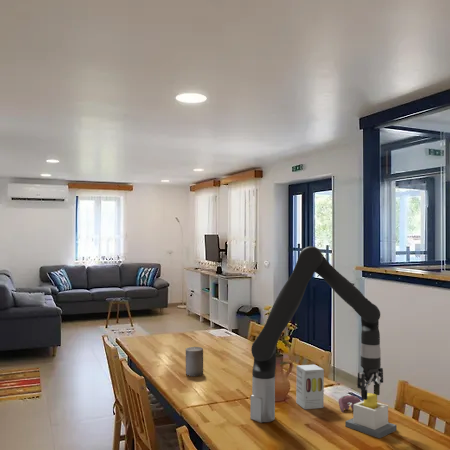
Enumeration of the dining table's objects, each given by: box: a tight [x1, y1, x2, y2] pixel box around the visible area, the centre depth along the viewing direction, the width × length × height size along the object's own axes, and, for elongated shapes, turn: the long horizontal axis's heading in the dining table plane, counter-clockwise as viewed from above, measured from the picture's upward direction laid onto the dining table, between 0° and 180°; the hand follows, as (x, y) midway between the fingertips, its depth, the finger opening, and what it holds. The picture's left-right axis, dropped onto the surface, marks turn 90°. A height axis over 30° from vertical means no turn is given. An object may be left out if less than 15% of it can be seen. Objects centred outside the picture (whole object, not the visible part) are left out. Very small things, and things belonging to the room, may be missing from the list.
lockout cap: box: [363, 392, 378, 409], centre depth 187 cm, size 5×5×6 cm
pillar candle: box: [185, 346, 204, 377], centre depth 261 cm, size 10×10×15 cm
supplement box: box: [295, 364, 325, 410], centre depth 213 cm, size 10×9×17 cm
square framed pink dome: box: [344, 400, 398, 439], centre depth 187 cm, size 12×15×9 cm
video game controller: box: [338, 395, 361, 413], centre depth 207 cm, size 10×5×7 cm, turn 94°
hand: (370, 396), depth 187 cm, fingers open, 8 cm apart
